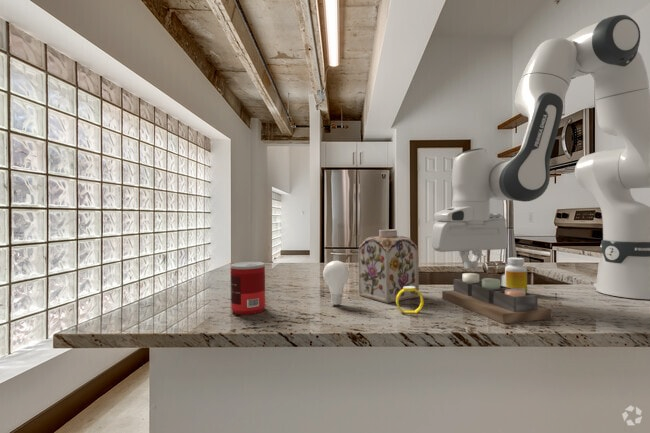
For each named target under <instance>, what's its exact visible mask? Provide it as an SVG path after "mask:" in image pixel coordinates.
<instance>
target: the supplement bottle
mask: <svg viewBox="0 0 650 433" xmlns="http://www.w3.org/2000/svg"><path fill="white" fill-rule="evenodd" d="M507 264H508V265H506V266H505V267H504V286H505V287H508V288H511V289H517V290H523V291H525V292H527V293H528V268H527V267H526V266H525V258H524V257H523V258H522V257H516V256H515V257H513V256H512V257H508V258H507Z"/></svg>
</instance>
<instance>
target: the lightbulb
mask: <svg viewBox="0 0 650 433" xmlns="http://www.w3.org/2000/svg"><path fill="white" fill-rule="evenodd" d="M322 276H323V280H324V281H325V283H326V285H327V286H328V291H329V293H330V303H331V304H332V305H334V306H335V307H337V306H339V305H341V304H343V301H342V300H343V299H342V297H343V291H344V288H345V285H346V284H347V283H348V280H349V278H350V270H349V267H348V266H347V265H346V263H345V262H343V261H340V260H332V261H329V262H328V263H326V264H325V266H324V268H323V271H322Z"/></svg>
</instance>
